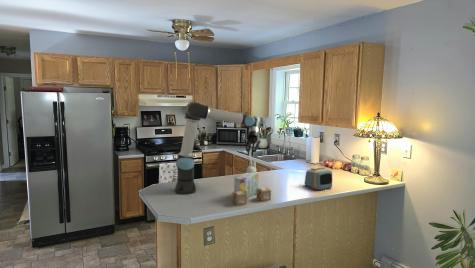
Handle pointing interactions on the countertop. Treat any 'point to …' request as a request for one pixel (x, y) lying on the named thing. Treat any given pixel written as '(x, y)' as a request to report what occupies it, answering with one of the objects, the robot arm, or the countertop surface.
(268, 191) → the walnut block
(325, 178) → the alarm clock
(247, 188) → the snack box
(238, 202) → the walnut block
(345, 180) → the countertop surface
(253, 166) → the toy
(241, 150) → the countertop surface
